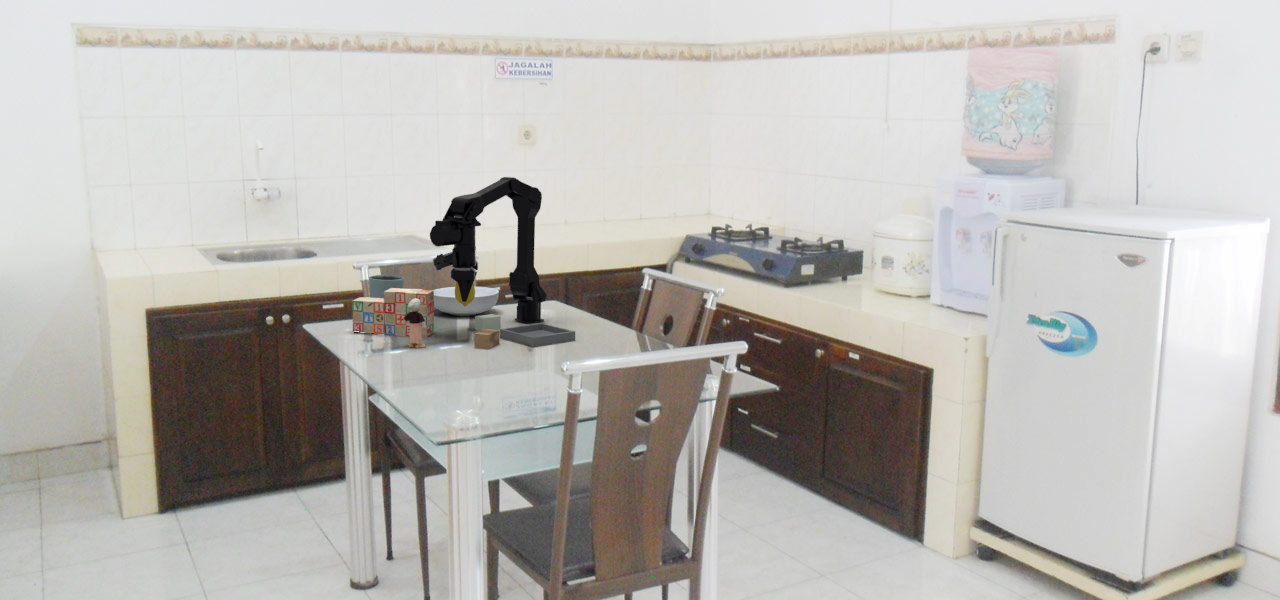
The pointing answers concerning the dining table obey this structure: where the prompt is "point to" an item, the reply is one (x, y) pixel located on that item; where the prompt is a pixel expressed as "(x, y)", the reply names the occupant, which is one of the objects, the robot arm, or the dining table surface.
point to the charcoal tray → (537, 334)
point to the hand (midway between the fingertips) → (464, 299)
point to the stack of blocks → (392, 312)
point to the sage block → (487, 322)
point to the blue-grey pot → (384, 284)
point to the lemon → (470, 296)
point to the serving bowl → (480, 303)
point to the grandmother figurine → (415, 323)
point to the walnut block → (487, 339)
